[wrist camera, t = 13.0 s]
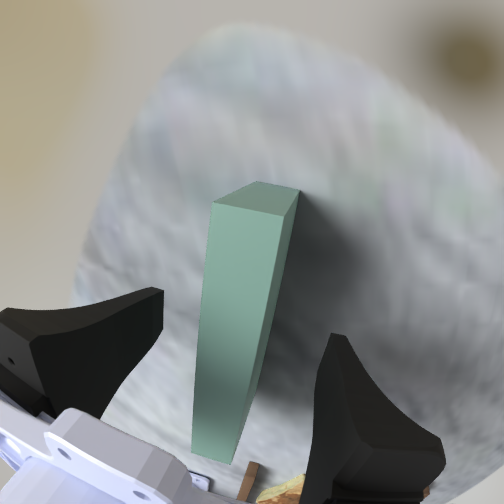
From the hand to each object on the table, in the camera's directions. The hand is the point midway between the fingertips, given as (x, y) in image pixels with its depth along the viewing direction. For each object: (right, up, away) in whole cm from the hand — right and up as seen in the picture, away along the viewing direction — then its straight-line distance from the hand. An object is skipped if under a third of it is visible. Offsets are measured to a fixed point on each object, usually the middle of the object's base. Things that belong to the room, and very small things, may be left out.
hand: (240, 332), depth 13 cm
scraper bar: (+1, +1, +3) cm, 4 cm away
